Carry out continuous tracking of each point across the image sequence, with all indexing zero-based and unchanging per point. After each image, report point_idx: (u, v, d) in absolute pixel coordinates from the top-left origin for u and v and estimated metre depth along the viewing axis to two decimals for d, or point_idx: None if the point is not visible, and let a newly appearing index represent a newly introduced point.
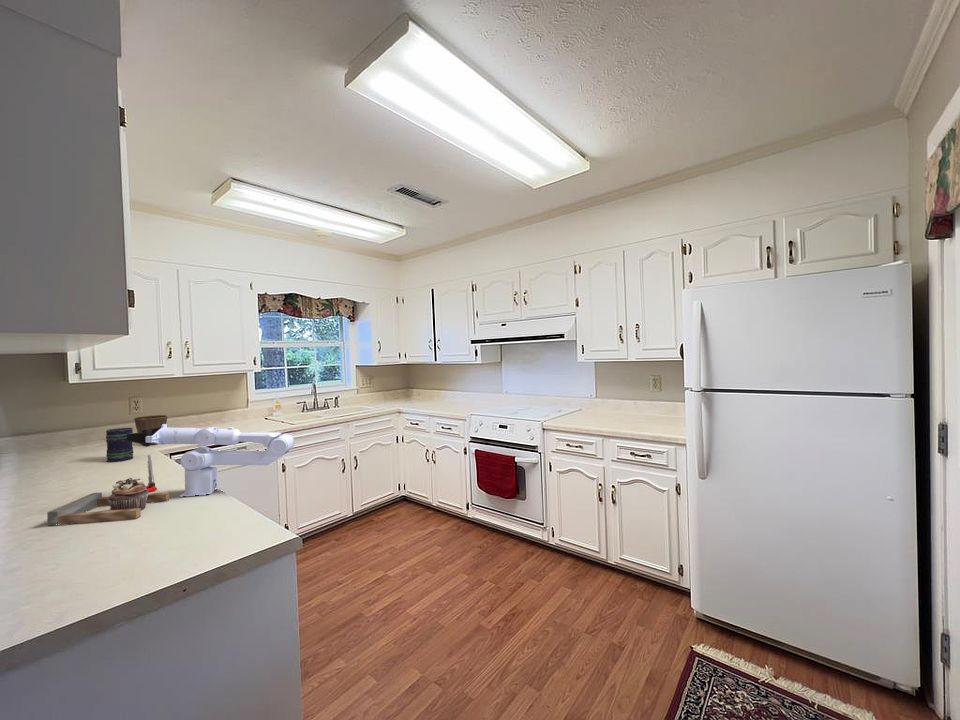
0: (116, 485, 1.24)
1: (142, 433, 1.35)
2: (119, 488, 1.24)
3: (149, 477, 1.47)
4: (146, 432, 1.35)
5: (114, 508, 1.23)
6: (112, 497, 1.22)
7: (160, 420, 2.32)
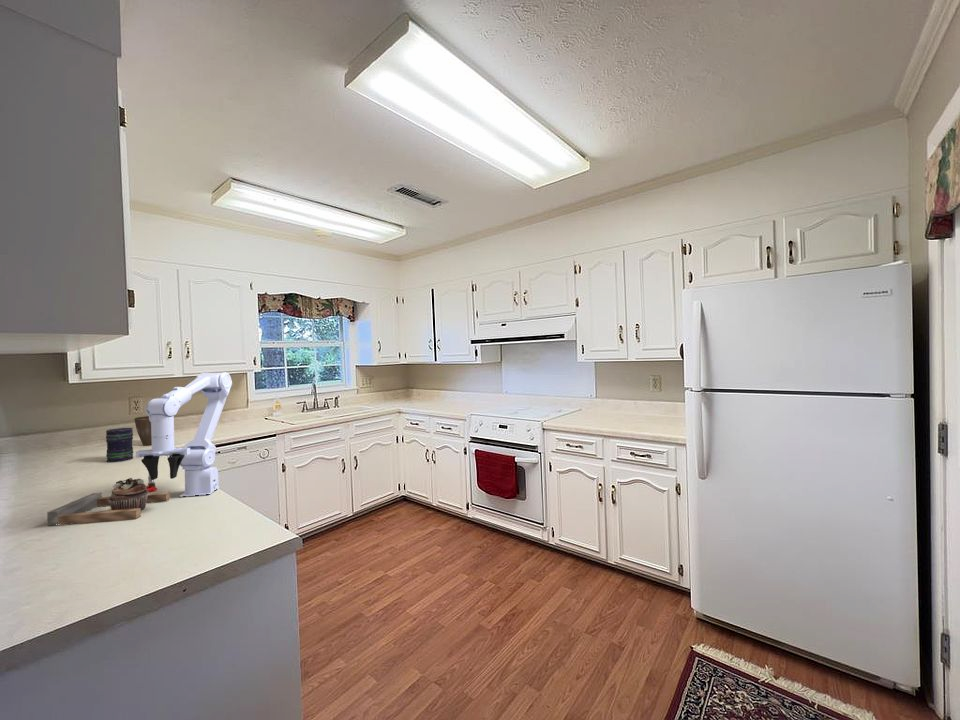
0: (116, 485, 1.24)
1: (176, 462, 1.28)
2: (119, 488, 1.24)
3: (149, 477, 1.47)
4: (176, 457, 1.27)
5: (114, 508, 1.23)
6: (112, 497, 1.22)
7: None
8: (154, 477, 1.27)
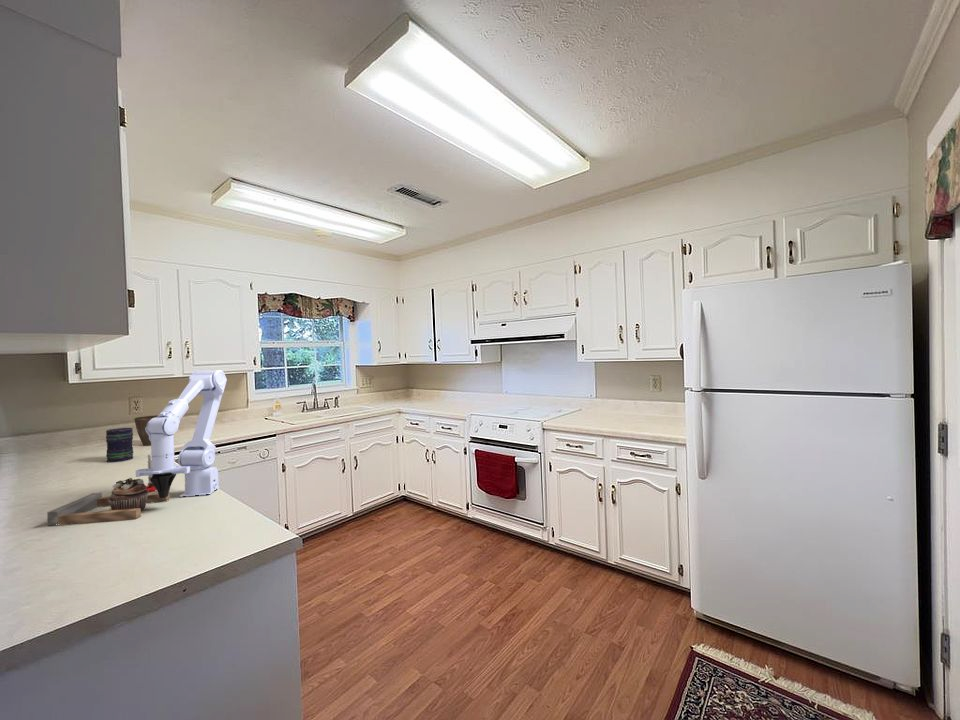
0: (116, 485, 1.24)
1: (167, 481, 1.27)
2: (119, 488, 1.24)
3: (149, 477, 1.47)
4: (168, 477, 1.27)
5: (114, 508, 1.23)
6: (112, 497, 1.22)
7: None
8: None
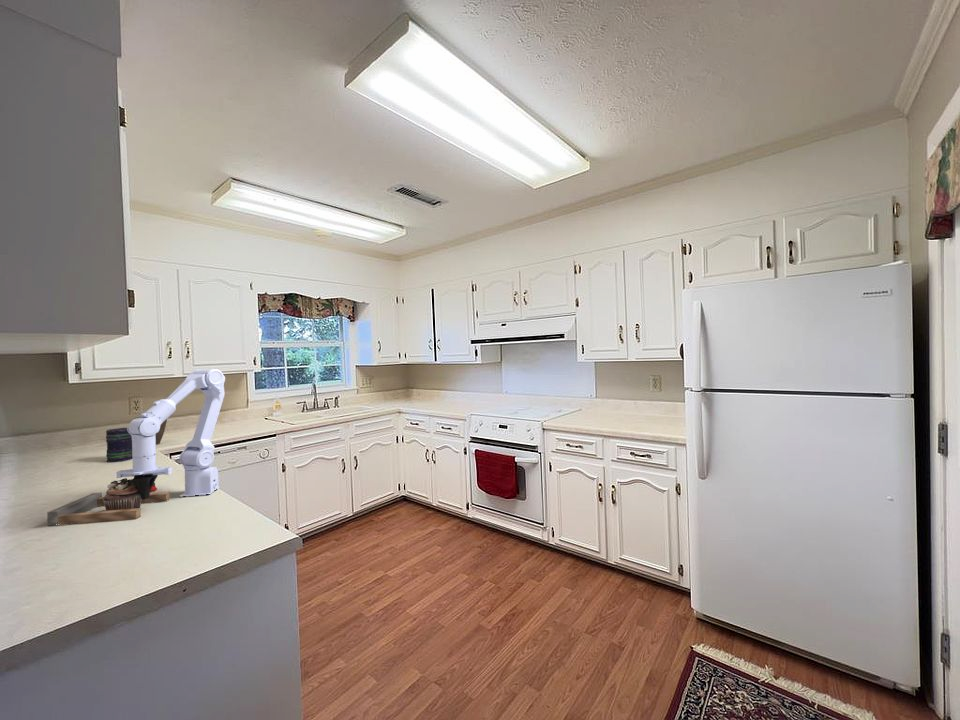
0: (111, 485, 1.24)
1: (148, 482, 1.26)
2: (114, 488, 1.24)
3: None
4: (149, 478, 1.26)
5: (108, 508, 1.22)
6: (106, 497, 1.22)
7: None
8: None
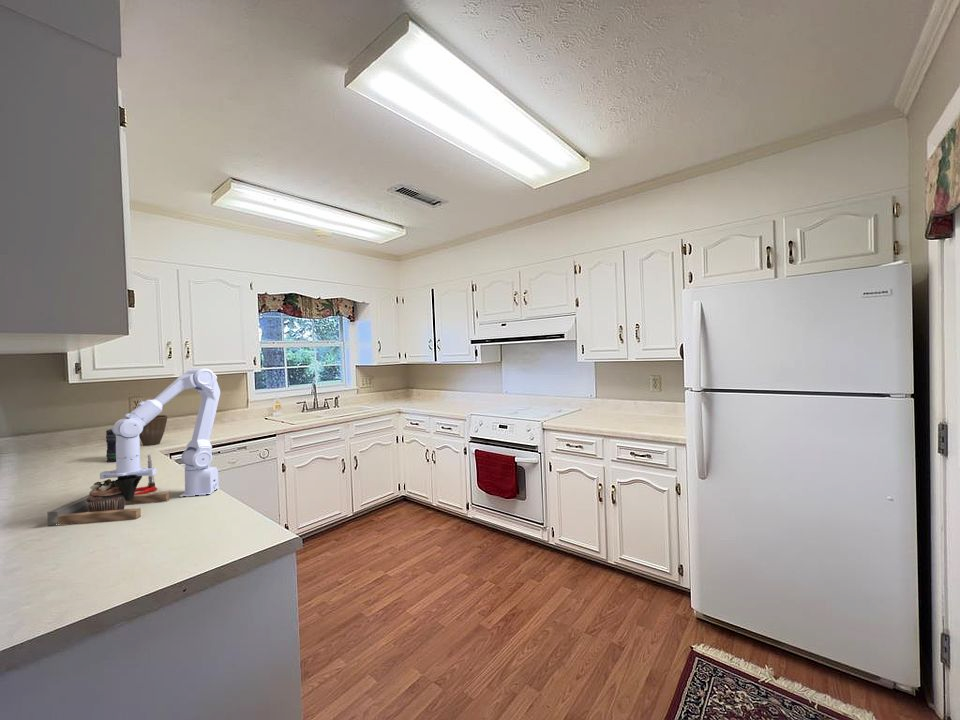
0: (94, 486, 1.23)
1: (132, 483, 1.25)
2: (97, 489, 1.23)
3: (149, 477, 1.47)
4: (132, 479, 1.25)
5: (91, 509, 1.22)
6: (89, 498, 1.21)
7: (160, 420, 2.32)
8: None
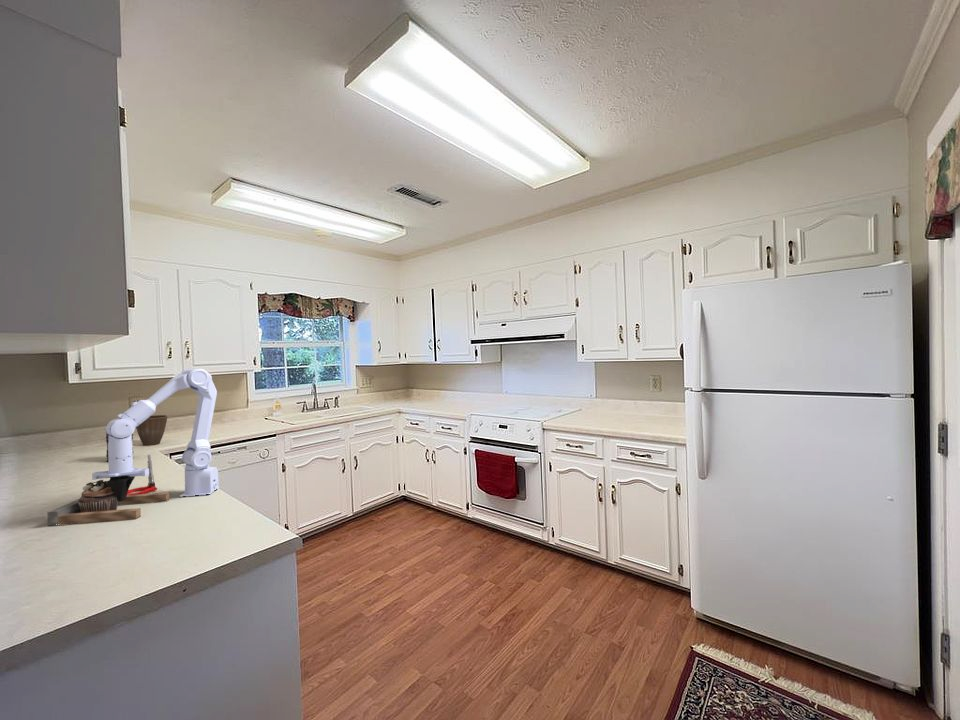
0: (86, 487, 1.23)
1: (124, 484, 1.25)
2: (89, 490, 1.22)
3: (149, 477, 1.47)
4: (125, 480, 1.25)
5: (84, 510, 1.21)
6: (81, 499, 1.21)
7: (160, 420, 2.32)
8: None
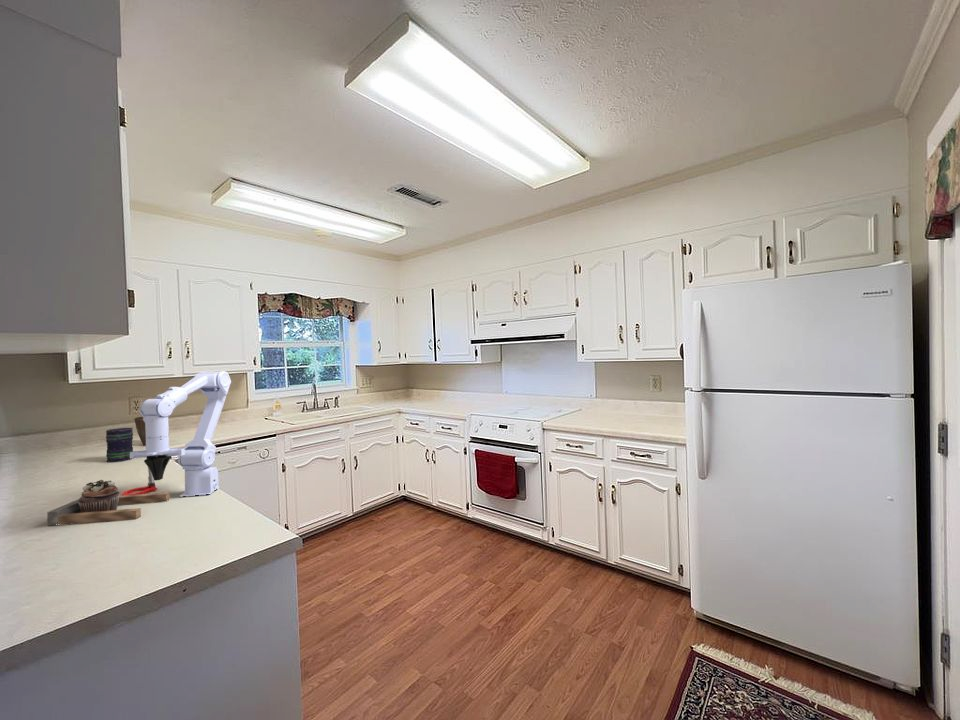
0: (86, 487, 1.23)
1: (162, 463, 1.26)
2: (89, 490, 1.22)
3: (149, 477, 1.47)
4: (162, 459, 1.26)
5: (84, 510, 1.21)
6: (82, 499, 1.21)
7: None
8: None
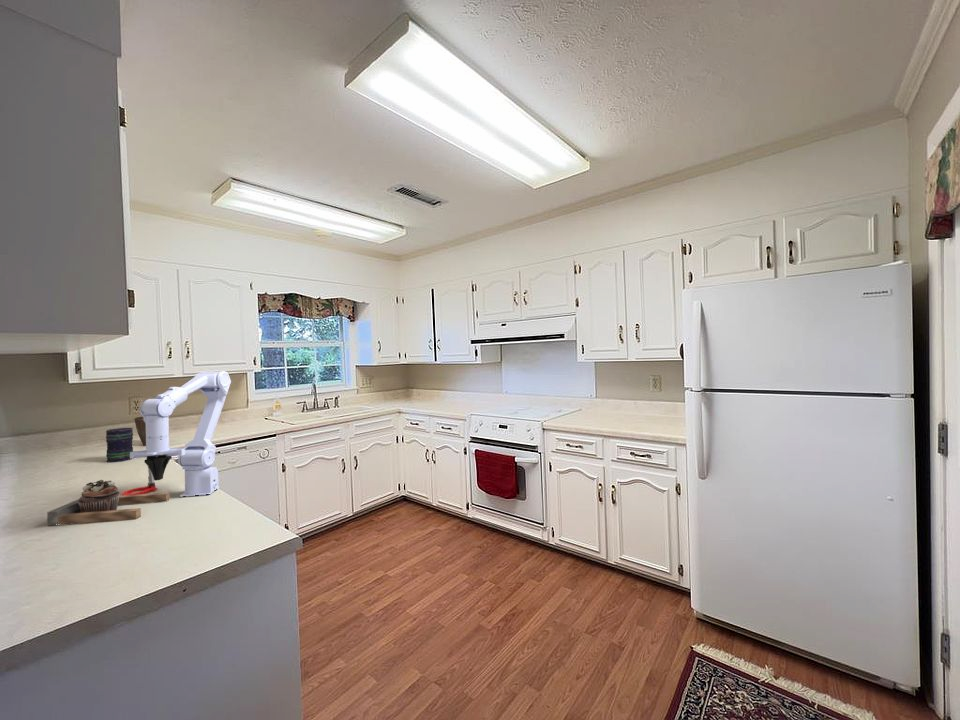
0: (86, 487, 1.23)
1: (162, 463, 1.26)
2: (89, 490, 1.22)
3: (149, 477, 1.47)
4: (163, 459, 1.26)
5: (84, 510, 1.21)
6: (81, 499, 1.21)
7: None
8: None
